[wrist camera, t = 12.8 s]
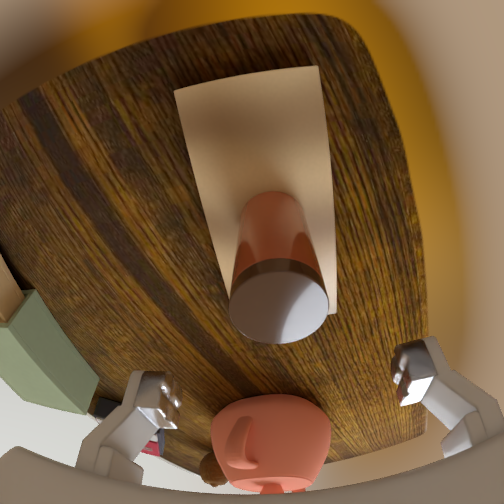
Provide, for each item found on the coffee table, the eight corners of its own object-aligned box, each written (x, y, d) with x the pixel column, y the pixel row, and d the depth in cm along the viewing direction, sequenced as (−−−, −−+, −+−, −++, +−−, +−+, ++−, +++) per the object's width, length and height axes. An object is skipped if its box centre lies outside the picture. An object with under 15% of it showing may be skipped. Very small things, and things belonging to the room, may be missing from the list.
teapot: (345, 432, 44) (354, 499, 32) (258, 450, 48) (257, 512, 37) (298, 363, 32) (308, 475, 21) (178, 391, 36) (161, 482, 25)
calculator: (108, 444, 44) (91, 418, 36) (113, 426, 48) (98, 396, 39) (162, 458, 45) (158, 438, 37) (165, 440, 49) (163, 414, 40)
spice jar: (233, 196, 20) (217, 278, 13) (301, 186, 20) (328, 263, 12) (246, 253, 23) (239, 348, 15) (308, 244, 22) (329, 337, 14)
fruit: (230, 457, 51) (227, 491, 45) (200, 453, 51) (196, 487, 44) (235, 449, 48) (233, 485, 41) (202, 444, 47) (198, 481, 41)
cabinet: (-19, 294, 29) (-42, 324, 24) (35, 288, 28) (7, 328, 22) (37, 370, 38) (23, 400, 32) (99, 378, 36) (86, 415, 31)
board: (178, 89, 18) (172, 90, 16) (313, 66, 16) (318, 65, 15) (238, 314, 28) (237, 326, 27) (334, 302, 27) (337, 313, 26)
